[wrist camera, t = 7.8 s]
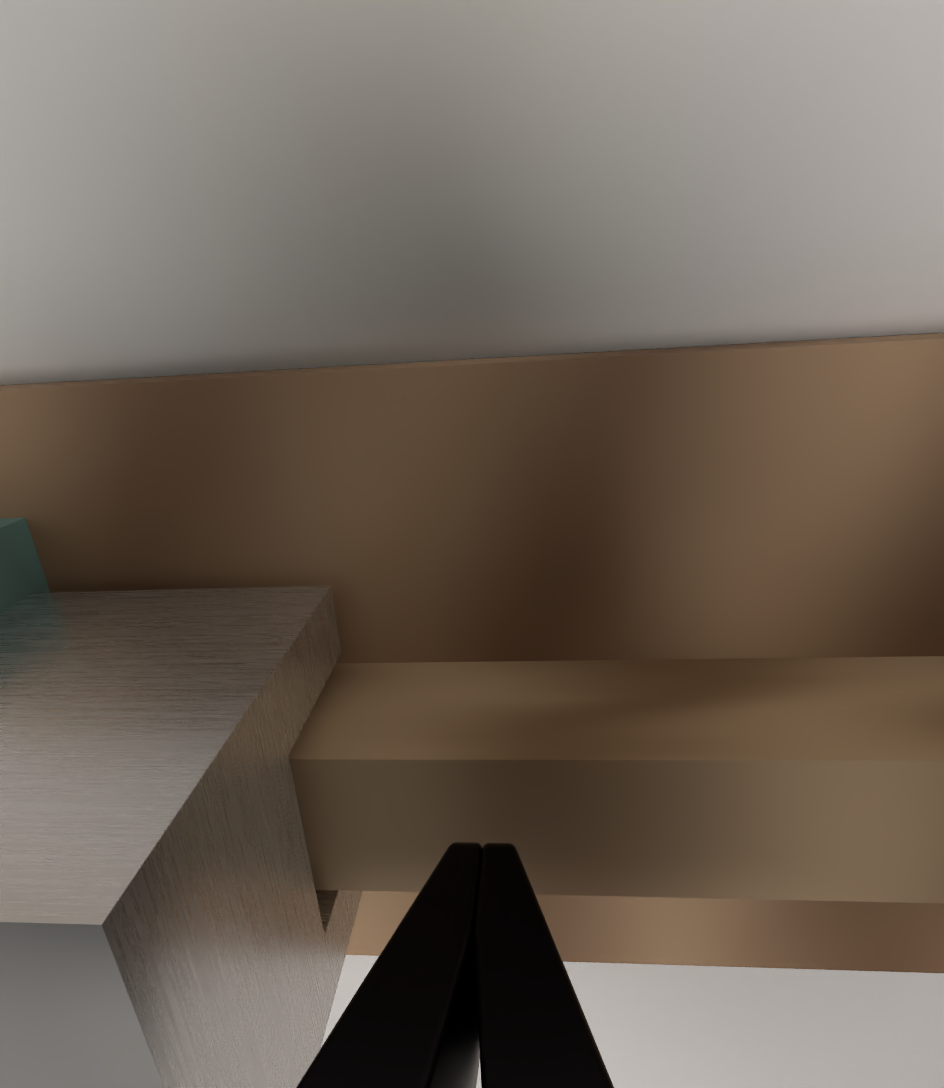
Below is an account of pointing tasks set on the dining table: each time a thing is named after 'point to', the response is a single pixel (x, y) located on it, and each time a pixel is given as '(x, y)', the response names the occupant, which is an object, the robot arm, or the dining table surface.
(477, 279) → the dining table surface
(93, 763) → the metal slider block
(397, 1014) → the robot arm
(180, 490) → the rail board
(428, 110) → the dining table surface
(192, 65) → the dining table surface
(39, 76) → the dining table surface
